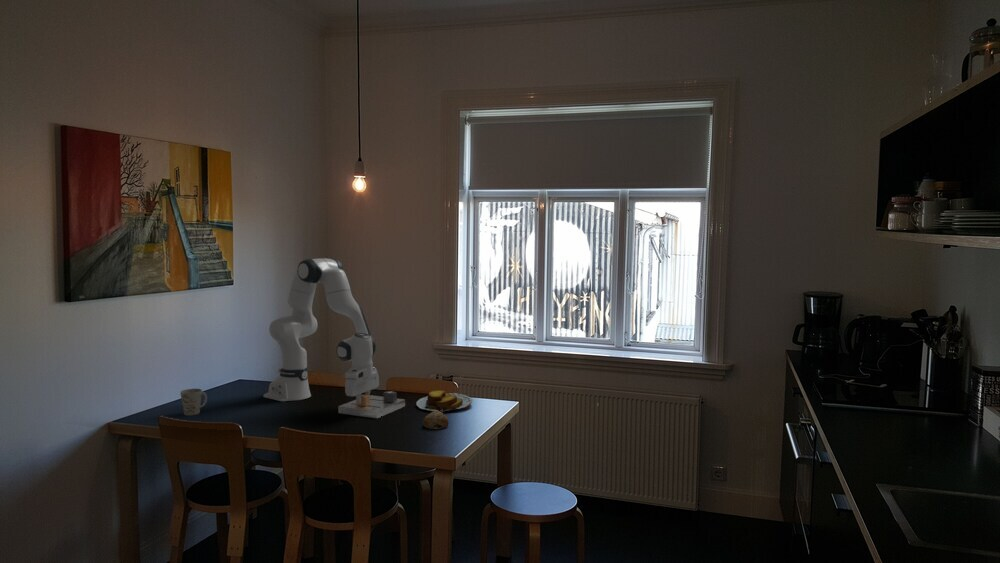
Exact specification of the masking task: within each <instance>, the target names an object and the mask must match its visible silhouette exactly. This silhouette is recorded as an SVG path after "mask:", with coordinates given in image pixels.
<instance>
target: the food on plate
mask: <svg viewBox="0 0 1000 563" xmlns="http://www.w3.org/2000/svg"><path fill="white" fill-rule="evenodd" d="M415 403H416V404H415V405H416V406H417V407H418V409H421V410H426V411H431V412H433V411H439V410H440V411H441V412H447V411H448V412H449V411H454V410H461V409H465V408H466V410H469V406H470V405H471V404H472V403H473V398H471V397H470V396H468V395H466V394H462V393H456V392H454V393H453V392H452V393H450V392H449V393H448V392H446V391H445V390H443V389H442V390H438V389H437V390H432V391H429V392H428V394H427V396H424V397H421V398H419V399H418V400H417V401H416V402H415ZM426 407H427V408H426ZM443 410H444V411H443ZM440 411H439V412H440Z"/></svg>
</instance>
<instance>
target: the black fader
mask: <svg viewBox="0 0 1000 563" xmlns="http://www.w3.org/2000/svg"><path fill="white" fill-rule="evenodd" d="M382 394H383V396H382V397H383V401H384V402H392V403H393V402H396V401H397V399H398V398H397V396H398V393H397V391H390V390H389V391H388V390H387V391H384V392H383V393H382Z"/></svg>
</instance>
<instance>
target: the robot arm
mask: <svg viewBox="0 0 1000 563" xmlns="http://www.w3.org/2000/svg"><path fill="white" fill-rule="evenodd" d="M346 274H347V273H346V272H345V270H344V267H343V264H342V262H341V261H340V260H338V259H335V258H328V257H327V258H324V257H320V258H312V259H311V258H307V259H304V260H302V261H300V262H299V263H298V265H297V269H296V271H295V273H294V275H293V279H292V282H291V284H290V285H291V286H290V289H289V294H288V298H287V303H288V305H289V307H290V308H291V309H292V314H291V315H290V316H282V317H279V318H276V319H275V320H273V321H271V322H270V324H269V329H268V330H269V335H270V337H271V338H272V339H273V340H275V341H276V342H277V345H279V348H280V351H281V360H282V367H281V368H279V369H278V370H277V373H279V376H277V377H276V378H275V379H274V380H273V381H271V382H270V383H269V385H268V386H269V387H268V392H266V393H264V394H263V398H266V399H270V400H275V401H279V402H287V401H291V402H292V401H301V400H305V399H308V398H310V397H312V394H311V390H310V386H309V384H310V383H309V378H308V376H309V368H308V358H307V357H308V356H307V355H308V354H307V352H308V351H307V350H306V349H305V348H304V347H302V346H301V345H300V340H299V339H301V338H306V337H308V336H311V335H312V334H315V333H316V331H317V330H318V321H317V318H316V317H315V316H314V313H313V304H314V303H313V302H314V298H315V293H316V288H317V285H318V283H319V284H322V285H323V287H324V293H325V298H326V303H327V305H328V307H329V308H330V309H331V310H332V311H333V312H335V313H337V314H340V315H343V316H346V317H347V318H349V319H350V320H351V321H352V322H353V325H354V329H355V332H356V333H354V334H353V335H352V336H351V337H349V338H345V339H343V340H340V341H339V342H338V344H337V346H336V355H337V357H338V359H339V360H340V361H342V362H352V363H351V367H350V368H349V369H348V370H347V371H346V372H345V373H344V378H346V379H345V382H344V383H345V384H344V392H345V394H346V395H345V396H346V397H355V399H356V398H357V403H359V404H360V403H363V399H361V395H362V394H363V393H365V394H364V395H370V394H371V391H372V390H374V389H377V388H378V387H380V377H379V376H380V375H379V372H378V369H377V368H376V367H375V366H374V362H373V357H374V355H375V353H376V351H377V345H376V342H375V339H374V338H373V335H371V334H372V333H371V331H370V328H369V325H368V324H367V322H368V321H367V320H366V317H365V313H364V312H363V309H362V307H361V305H360V304H359V303H358V302H357V301H356V300H355V298H354V297H353V294H352V290H351V286H350V283H349V282H350V281H349V280H348V277H347V275H346Z"/></svg>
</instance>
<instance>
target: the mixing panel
mask: <svg viewBox="0 0 1000 563" xmlns="http://www.w3.org/2000/svg"><path fill="white" fill-rule="evenodd" d="M369 396H370V405H368V406H361V405H356V399H353V400H352V401H348V402H346V403H343V404H341V405H338V408H337V409H338V414H341V415H349V416H350V415H351V416H356V417H364V418H372V419H379V418H382V417H383V416H386V415H388V414H391V413H393V412H395V411H398V410H400V409H402V408H403V407H405V406H406V399H403V398H397V401H396V402H393V403H392V402H384V401H383V396H379V395H372V394H371V395H369ZM381 416H382V417H381Z"/></svg>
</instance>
